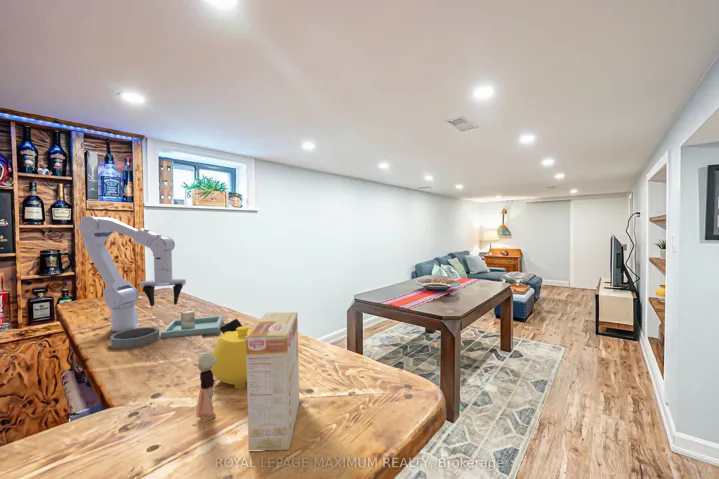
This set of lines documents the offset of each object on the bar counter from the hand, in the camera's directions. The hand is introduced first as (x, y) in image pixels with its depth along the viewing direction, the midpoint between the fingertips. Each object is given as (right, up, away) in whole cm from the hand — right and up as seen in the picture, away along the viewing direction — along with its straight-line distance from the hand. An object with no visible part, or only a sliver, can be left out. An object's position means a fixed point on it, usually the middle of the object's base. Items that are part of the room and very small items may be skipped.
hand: (164, 304), depth 117 cm
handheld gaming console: (+33, -10, -10) cm, 36 cm away
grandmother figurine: (+44, -11, -56) cm, 72 cm away
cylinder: (+10, -9, -2) cm, 13 cm away
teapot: (+46, -10, -40) cm, 62 cm away
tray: (+12, -9, -1) cm, 15 cm away
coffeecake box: (+58, -11, -59) cm, 83 cm away
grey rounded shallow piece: (0, -10, -15) cm, 18 cm away
